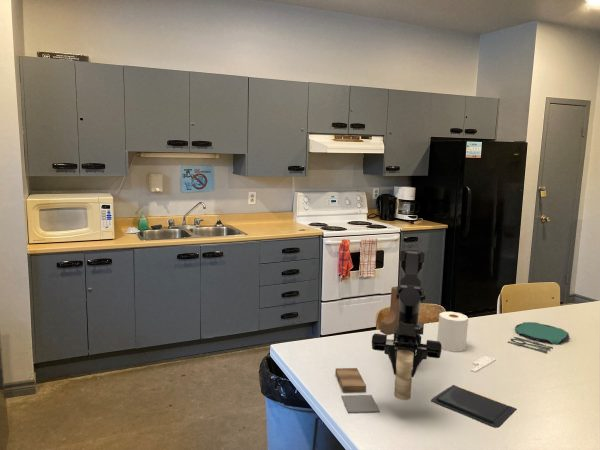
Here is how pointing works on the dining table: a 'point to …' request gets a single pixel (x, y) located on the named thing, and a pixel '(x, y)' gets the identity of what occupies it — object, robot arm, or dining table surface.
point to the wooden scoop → (391, 315)
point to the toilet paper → (452, 331)
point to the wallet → (474, 406)
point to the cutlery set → (539, 335)
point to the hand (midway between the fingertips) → (403, 375)
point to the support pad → (360, 404)
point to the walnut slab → (350, 380)
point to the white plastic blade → (482, 363)
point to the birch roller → (403, 374)
